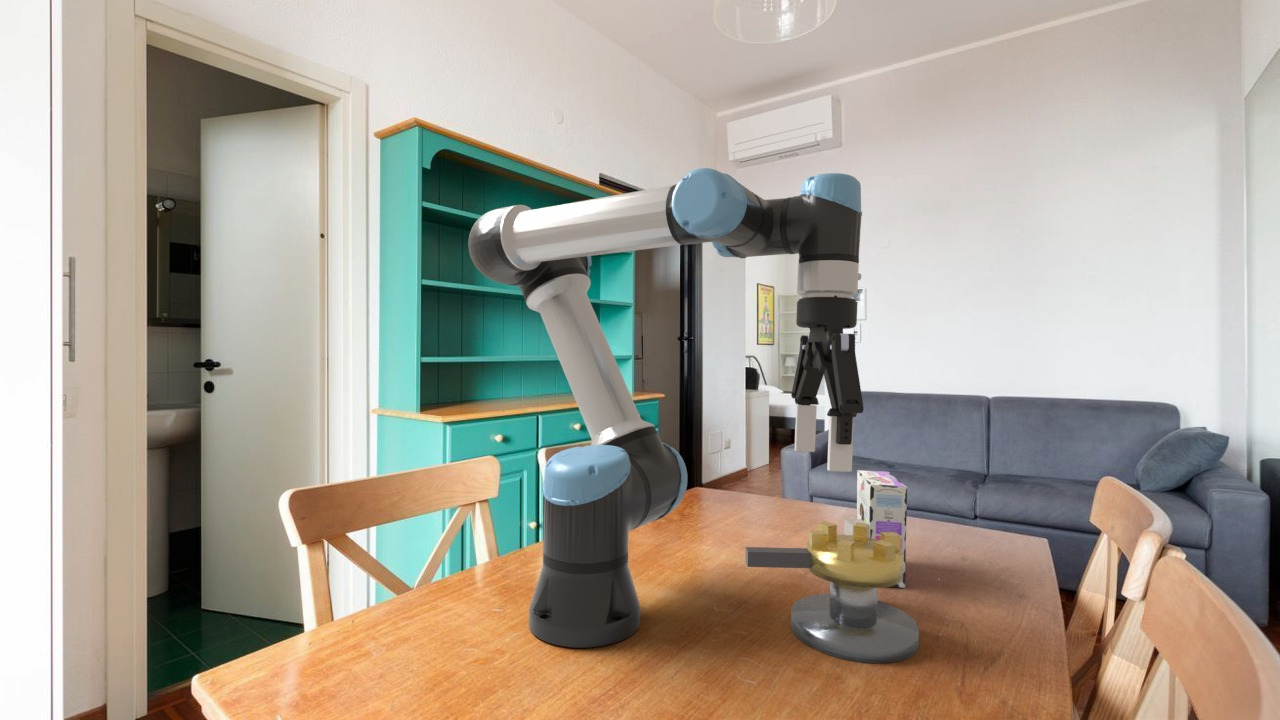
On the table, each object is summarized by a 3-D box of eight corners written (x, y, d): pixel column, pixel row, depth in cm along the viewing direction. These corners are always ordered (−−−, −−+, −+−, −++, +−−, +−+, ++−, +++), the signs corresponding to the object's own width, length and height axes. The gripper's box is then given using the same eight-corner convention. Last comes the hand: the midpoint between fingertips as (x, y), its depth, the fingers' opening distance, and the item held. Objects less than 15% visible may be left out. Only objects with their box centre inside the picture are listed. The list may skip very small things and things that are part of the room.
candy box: (906, 589, 95) (908, 486, 95) (867, 586, 96) (869, 484, 96) (888, 560, 108) (890, 470, 108) (854, 557, 110) (856, 468, 109)
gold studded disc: (753, 585, 74) (754, 544, 74) (740, 553, 86) (740, 518, 86) (918, 589, 73) (919, 548, 73) (882, 556, 85) (882, 521, 85)
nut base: (807, 661, 72) (809, 562, 72) (774, 594, 92) (775, 517, 92) (941, 665, 71) (943, 565, 71) (879, 597, 91) (880, 519, 91)
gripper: (900, 289, 65) (891, 482, 65) (823, 305, 90) (817, 445, 90) (832, 286, 65) (824, 480, 65) (774, 303, 90) (768, 443, 90)
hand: (820, 460), depth 78 cm, fingers open, 13 cm apart
